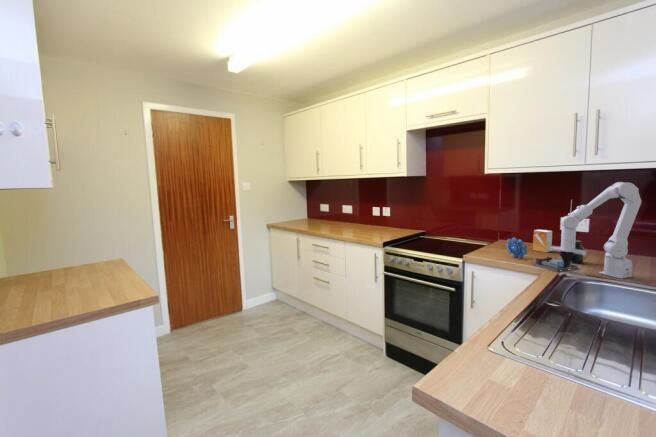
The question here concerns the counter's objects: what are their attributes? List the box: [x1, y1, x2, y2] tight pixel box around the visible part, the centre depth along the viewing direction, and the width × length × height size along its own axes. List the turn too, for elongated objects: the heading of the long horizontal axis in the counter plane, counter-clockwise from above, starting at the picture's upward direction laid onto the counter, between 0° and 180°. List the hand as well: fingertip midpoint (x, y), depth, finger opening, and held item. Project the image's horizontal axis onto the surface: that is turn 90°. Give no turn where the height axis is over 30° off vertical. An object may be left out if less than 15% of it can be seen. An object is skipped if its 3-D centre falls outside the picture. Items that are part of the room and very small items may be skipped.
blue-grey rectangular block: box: [546, 258, 564, 267], centre depth 165 cm, size 7×5×3 cm, turn 15°
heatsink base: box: [532, 256, 579, 272], centre depth 167 cm, size 14×14×4 cm
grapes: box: [505, 237, 528, 259], centre depth 187 cm, size 12×7×12 cm, turn 42°
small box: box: [532, 229, 553, 253], centre depth 201 cm, size 8×6×13 cm
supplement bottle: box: [571, 239, 585, 265], centre depth 173 cm, size 7×7×12 cm
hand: (566, 266), depth 159 cm, fingers closed
